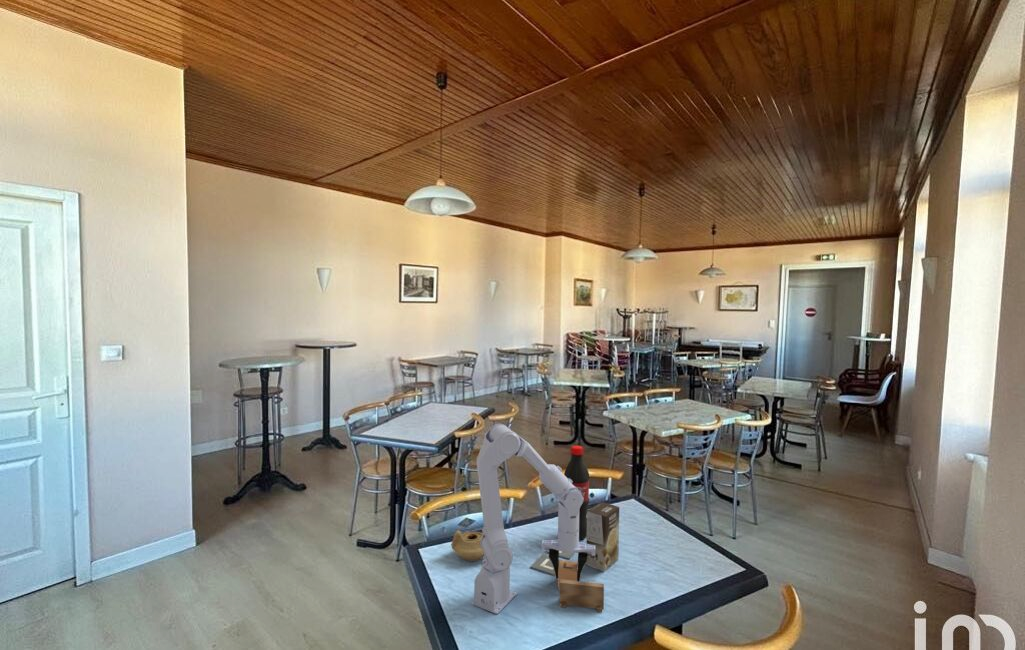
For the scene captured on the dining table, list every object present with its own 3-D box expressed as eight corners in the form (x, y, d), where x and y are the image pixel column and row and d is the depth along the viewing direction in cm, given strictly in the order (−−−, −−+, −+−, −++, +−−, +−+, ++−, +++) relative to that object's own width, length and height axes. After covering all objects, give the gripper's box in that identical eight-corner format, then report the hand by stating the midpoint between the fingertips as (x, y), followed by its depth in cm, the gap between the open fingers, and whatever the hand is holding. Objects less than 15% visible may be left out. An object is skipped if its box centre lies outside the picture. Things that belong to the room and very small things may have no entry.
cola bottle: (558, 532, 149) (559, 444, 149) (579, 527, 153) (580, 442, 153) (572, 544, 141) (573, 451, 141) (593, 538, 145) (594, 448, 145)
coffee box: (605, 572, 125) (605, 516, 125) (585, 564, 129) (585, 510, 129) (619, 559, 133) (619, 506, 132) (600, 552, 137) (600, 501, 136)
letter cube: (576, 590, 117) (577, 571, 117) (558, 588, 118) (558, 569, 118) (577, 579, 122) (577, 561, 122) (559, 577, 123) (559, 559, 123)
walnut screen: (559, 607, 110) (559, 585, 110) (560, 597, 114) (560, 576, 114) (603, 612, 108) (604, 590, 108) (603, 602, 112) (603, 580, 112)
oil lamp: (505, 562, 131) (505, 535, 131) (454, 570, 126) (455, 542, 126) (495, 544, 141) (495, 519, 141) (449, 550, 137) (449, 525, 137)
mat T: (569, 559, 132) (569, 558, 132) (545, 552, 136) (545, 551, 136) (579, 548, 139) (579, 546, 139) (556, 541, 143) (556, 540, 143)
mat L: (555, 576, 124) (555, 574, 124) (530, 567, 128) (530, 566, 128) (566, 562, 130) (566, 561, 130) (542, 555, 134) (542, 553, 134)
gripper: (595, 524, 122) (594, 572, 123) (543, 519, 125) (543, 566, 125) (595, 536, 116) (594, 587, 116) (540, 530, 118) (540, 581, 118)
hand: (567, 577), depth 120 cm, fingers closed on letter cube, 5 cm apart
